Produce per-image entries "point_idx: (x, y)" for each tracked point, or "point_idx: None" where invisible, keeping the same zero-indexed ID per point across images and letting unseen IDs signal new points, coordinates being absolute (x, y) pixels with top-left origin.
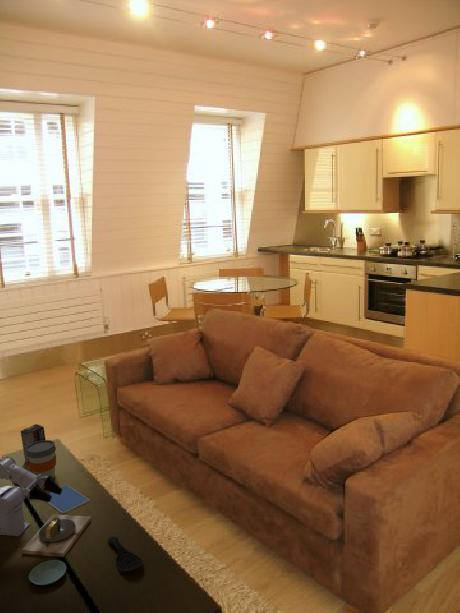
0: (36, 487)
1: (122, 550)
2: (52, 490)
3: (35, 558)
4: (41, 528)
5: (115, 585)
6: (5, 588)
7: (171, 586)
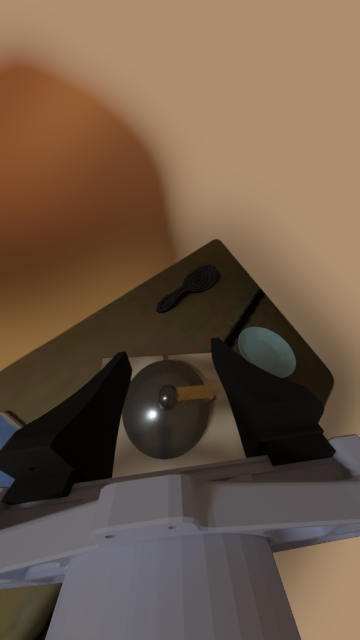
0: (294, 384)
1: (185, 287)
2: (118, 406)
3: None
4: (171, 458)
5: (230, 283)
6: None
7: (211, 254)
